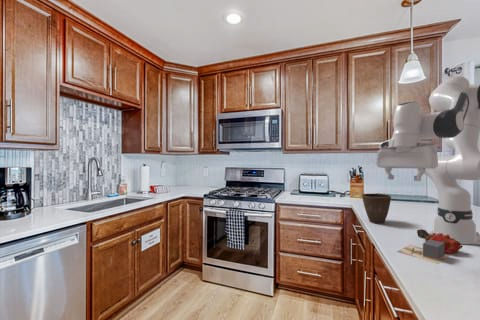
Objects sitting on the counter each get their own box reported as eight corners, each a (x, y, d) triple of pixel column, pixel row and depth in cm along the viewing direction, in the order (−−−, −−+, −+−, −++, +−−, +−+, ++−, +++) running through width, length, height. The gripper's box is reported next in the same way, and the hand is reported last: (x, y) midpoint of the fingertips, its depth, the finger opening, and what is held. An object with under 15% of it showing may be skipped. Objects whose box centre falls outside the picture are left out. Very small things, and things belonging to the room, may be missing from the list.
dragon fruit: (421, 253, 97) (459, 262, 92) (428, 247, 90) (469, 257, 85) (421, 233, 101) (456, 241, 96) (427, 226, 94) (466, 234, 89)
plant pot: (371, 226, 132) (370, 197, 132) (357, 219, 147) (357, 193, 147) (397, 225, 133) (397, 197, 132) (381, 218, 148) (380, 193, 147)
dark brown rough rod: (416, 236, 114) (416, 227, 114) (426, 237, 112) (426, 227, 112) (432, 251, 96) (432, 240, 96) (444, 252, 95) (444, 241, 95)
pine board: (409, 248, 100) (409, 244, 100) (449, 259, 89) (449, 255, 89) (396, 255, 93) (396, 251, 93) (438, 267, 82) (438, 263, 82)
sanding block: (430, 252, 92) (430, 239, 92) (444, 256, 88) (444, 242, 88) (423, 256, 88) (422, 243, 88) (437, 261, 84) (437, 247, 84)
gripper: (443, 143, 81) (441, 182, 80) (384, 146, 100) (382, 179, 99) (433, 139, 79) (431, 181, 78) (374, 144, 97) (372, 177, 96)
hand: (403, 180), depth 88 cm, fingers open, 8 cm apart
